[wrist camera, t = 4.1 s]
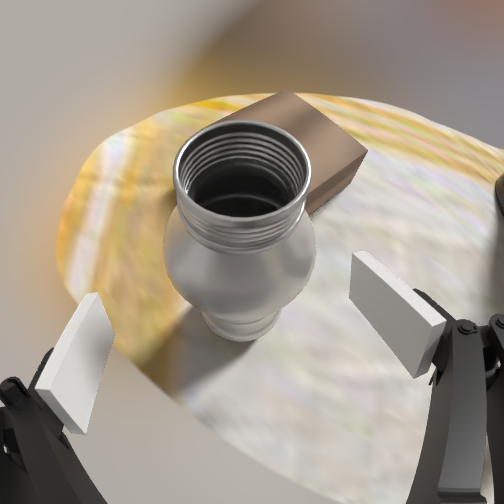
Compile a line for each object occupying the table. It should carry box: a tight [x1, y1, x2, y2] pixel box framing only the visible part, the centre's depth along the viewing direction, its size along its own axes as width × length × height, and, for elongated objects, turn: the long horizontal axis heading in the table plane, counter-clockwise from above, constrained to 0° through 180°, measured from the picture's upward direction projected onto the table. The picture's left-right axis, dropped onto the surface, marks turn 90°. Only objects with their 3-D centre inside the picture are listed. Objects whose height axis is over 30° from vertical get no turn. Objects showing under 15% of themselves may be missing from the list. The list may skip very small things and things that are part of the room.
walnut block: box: [201, 89, 368, 215], centre depth 29 cm, size 12×12×6 cm
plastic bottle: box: [163, 120, 316, 342], centre depth 16 cm, size 6×7×20 cm
